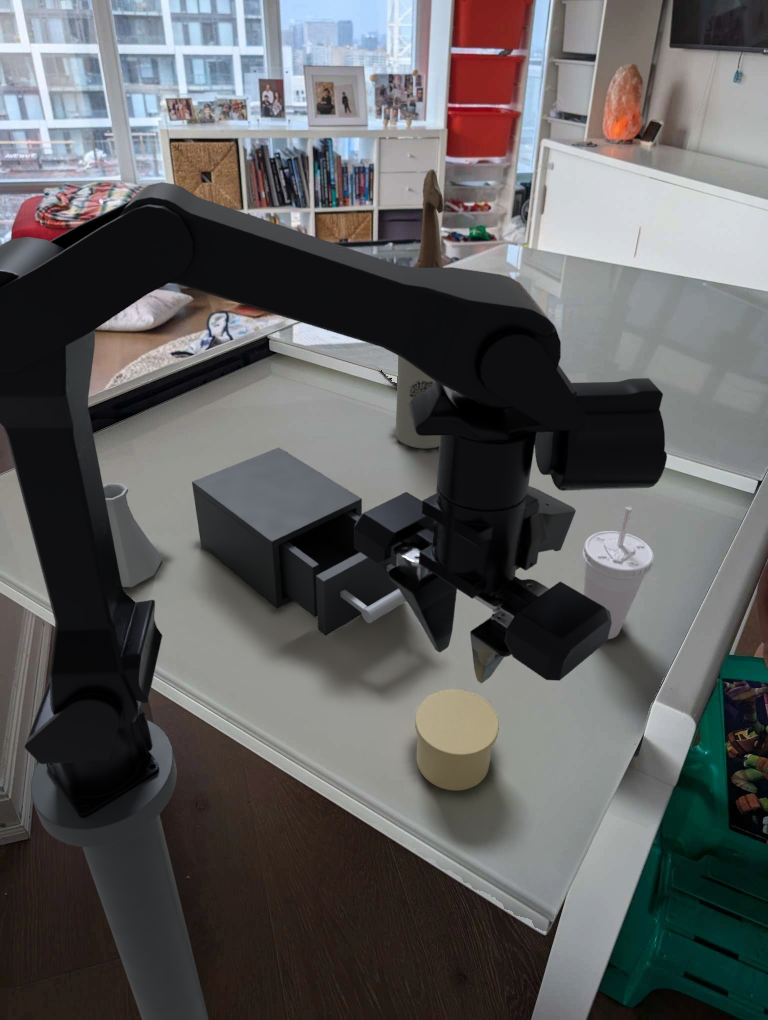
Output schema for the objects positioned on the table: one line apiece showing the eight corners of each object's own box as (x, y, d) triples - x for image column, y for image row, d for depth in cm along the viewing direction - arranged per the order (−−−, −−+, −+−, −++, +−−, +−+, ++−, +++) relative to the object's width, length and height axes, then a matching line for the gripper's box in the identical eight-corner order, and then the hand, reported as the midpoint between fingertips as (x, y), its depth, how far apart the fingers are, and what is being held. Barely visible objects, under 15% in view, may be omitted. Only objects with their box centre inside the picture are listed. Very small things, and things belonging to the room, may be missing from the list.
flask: (77, 579, 81) (56, 500, 75) (121, 542, 87) (104, 466, 81) (133, 596, 79) (116, 517, 73) (174, 557, 84) (161, 481, 79)
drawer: (435, 613, 76) (439, 559, 72) (357, 662, 70) (357, 607, 66) (321, 533, 87) (319, 483, 83) (245, 571, 81) (240, 518, 77)
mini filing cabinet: (361, 563, 84) (362, 498, 79) (276, 609, 78) (271, 541, 73) (283, 508, 93) (279, 447, 88) (200, 545, 86) (191, 481, 82)
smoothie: (635, 614, 78) (666, 500, 70) (631, 655, 73) (664, 538, 65) (572, 599, 80) (596, 487, 72) (564, 639, 75) (588, 523, 67)
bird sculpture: (404, 397, 120) (413, 180, 102) (375, 369, 129) (378, 165, 111) (466, 386, 124) (485, 175, 106) (433, 360, 133) (445, 161, 115)
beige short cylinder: (455, 809, 59) (459, 769, 56) (396, 757, 63) (398, 717, 60) (509, 761, 62) (516, 722, 60) (450, 715, 66) (454, 676, 64)
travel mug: (405, 420, 113) (410, 302, 103) (457, 429, 111) (466, 309, 101) (388, 444, 107) (391, 320, 97) (442, 454, 105) (451, 329, 95)
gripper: (682, 501, 47) (631, 679, 55) (459, 401, 58) (445, 562, 67) (576, 576, 40) (537, 764, 49) (348, 447, 52) (349, 619, 60)
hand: (462, 663), depth 56 cm, fingers open, 4 cm apart
